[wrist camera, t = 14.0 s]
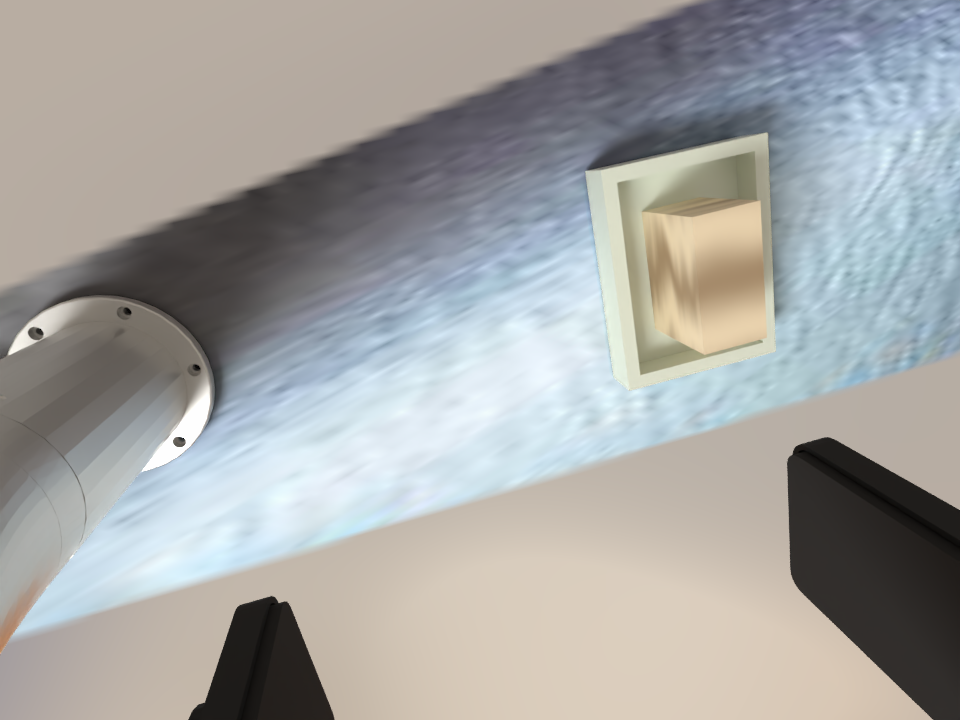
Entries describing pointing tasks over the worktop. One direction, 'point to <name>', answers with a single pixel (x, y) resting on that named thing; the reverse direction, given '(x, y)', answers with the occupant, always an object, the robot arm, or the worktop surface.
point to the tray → (623, 257)
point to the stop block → (707, 272)
